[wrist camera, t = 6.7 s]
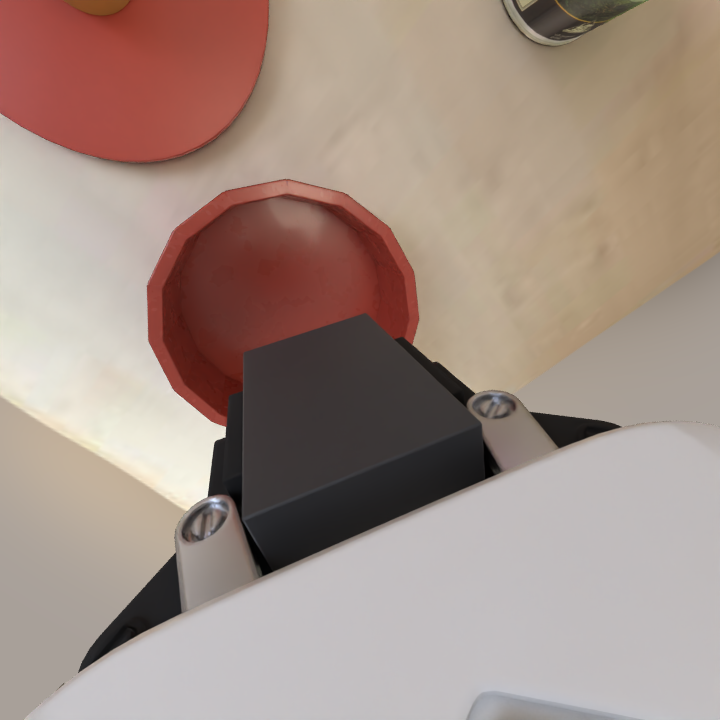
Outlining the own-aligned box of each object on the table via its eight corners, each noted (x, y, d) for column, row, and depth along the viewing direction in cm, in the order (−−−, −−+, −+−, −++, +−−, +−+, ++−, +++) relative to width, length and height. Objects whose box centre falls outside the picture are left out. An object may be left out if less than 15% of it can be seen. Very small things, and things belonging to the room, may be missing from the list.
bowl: (171, 390, 26) (150, 439, 20) (170, 159, 20) (142, 143, 15) (364, 397, 31) (387, 437, 25) (405, 214, 25) (446, 217, 20)
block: (284, 449, 14) (316, 647, 8) (242, 351, 12) (240, 520, 6) (387, 409, 14) (491, 562, 8) (366, 311, 12) (483, 422, 6)
